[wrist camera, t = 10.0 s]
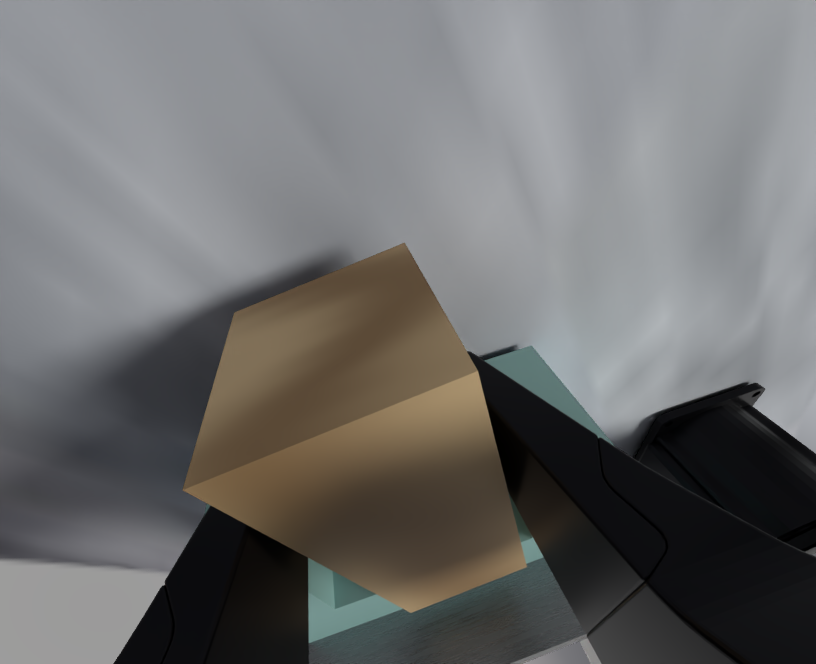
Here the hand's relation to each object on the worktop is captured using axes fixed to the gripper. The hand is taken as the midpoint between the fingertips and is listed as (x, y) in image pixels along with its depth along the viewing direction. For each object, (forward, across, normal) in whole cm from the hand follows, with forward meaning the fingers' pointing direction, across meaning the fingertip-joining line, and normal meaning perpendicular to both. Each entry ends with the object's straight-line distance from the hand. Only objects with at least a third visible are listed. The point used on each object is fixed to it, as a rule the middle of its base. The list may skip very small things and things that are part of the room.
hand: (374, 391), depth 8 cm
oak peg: (+1, 0, +2) cm, 2 cm away
